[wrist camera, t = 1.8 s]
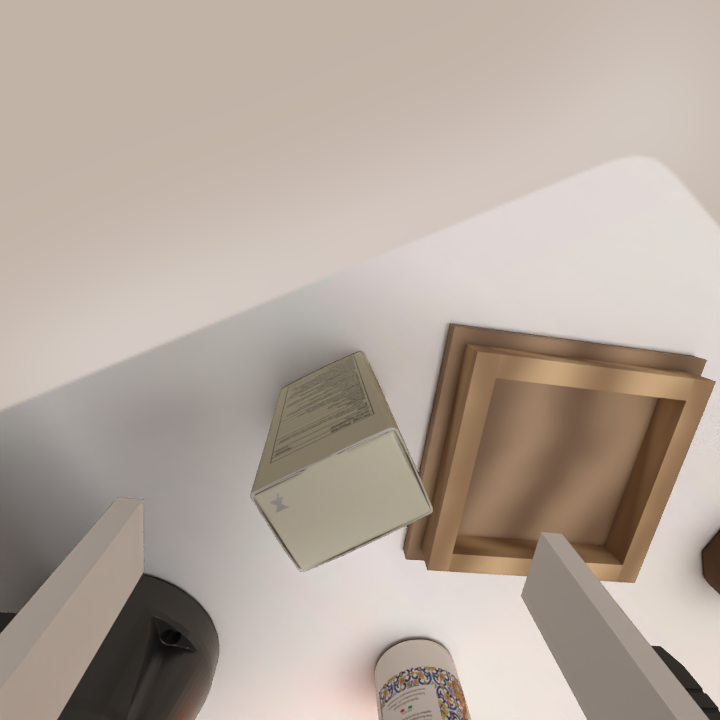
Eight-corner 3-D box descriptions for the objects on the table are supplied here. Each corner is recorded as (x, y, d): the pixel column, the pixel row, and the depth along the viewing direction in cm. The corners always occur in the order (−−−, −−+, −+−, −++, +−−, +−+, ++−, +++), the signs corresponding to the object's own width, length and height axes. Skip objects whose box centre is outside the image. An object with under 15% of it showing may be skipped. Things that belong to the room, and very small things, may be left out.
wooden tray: (403, 549, 31) (411, 580, 28) (450, 323, 26) (465, 333, 23) (614, 563, 33) (642, 594, 30) (693, 356, 28) (735, 368, 25)
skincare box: (308, 439, 28) (293, 581, 16) (279, 387, 26) (238, 498, 15) (392, 401, 27) (439, 517, 16) (366, 346, 26) (396, 427, 14)
